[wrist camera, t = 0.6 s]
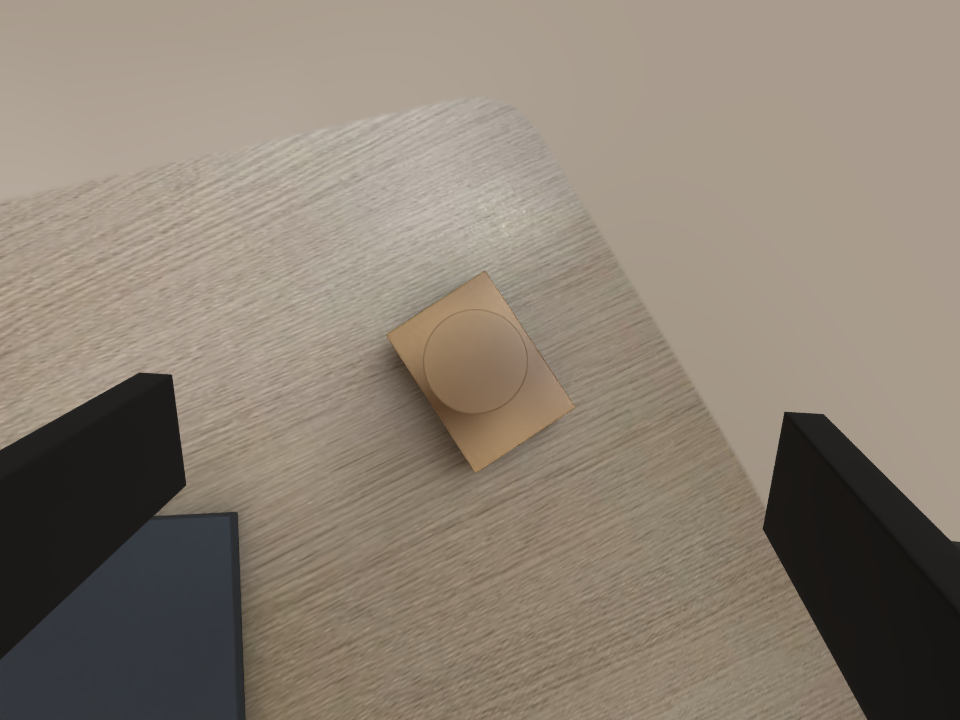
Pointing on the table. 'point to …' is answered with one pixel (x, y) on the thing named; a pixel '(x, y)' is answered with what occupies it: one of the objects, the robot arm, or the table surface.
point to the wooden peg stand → (480, 371)
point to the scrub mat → (141, 633)
